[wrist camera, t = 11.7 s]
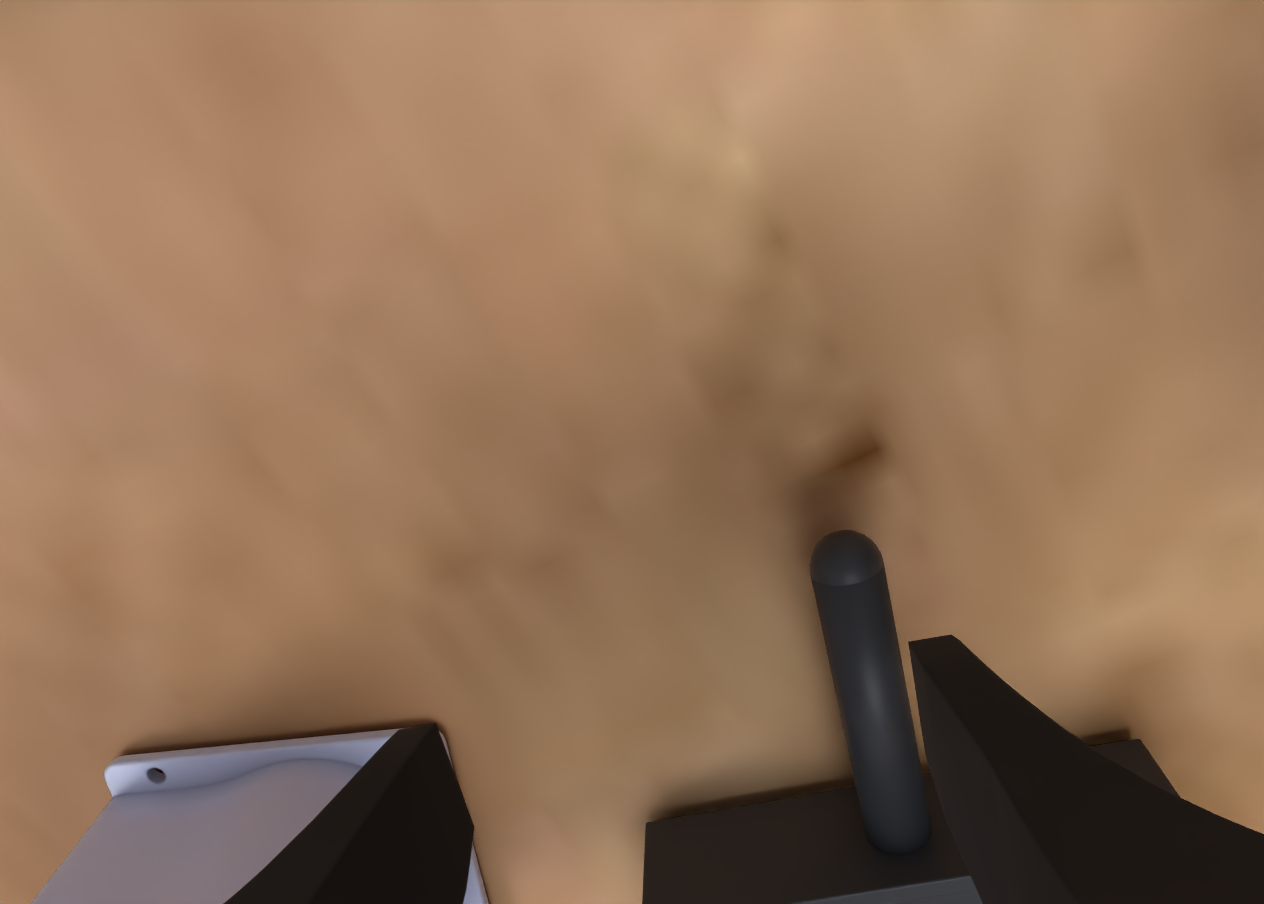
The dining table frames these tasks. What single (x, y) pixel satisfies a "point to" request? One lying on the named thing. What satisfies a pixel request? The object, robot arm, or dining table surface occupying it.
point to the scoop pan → (848, 818)
